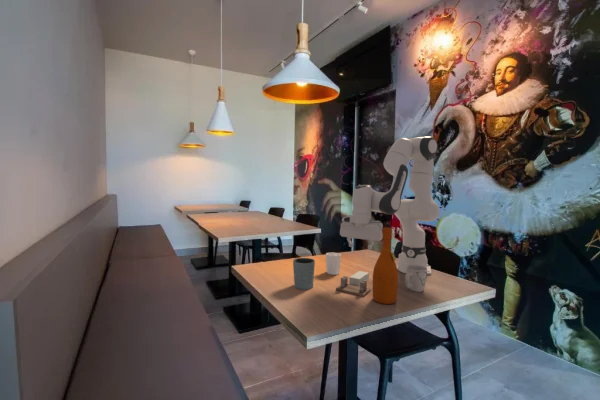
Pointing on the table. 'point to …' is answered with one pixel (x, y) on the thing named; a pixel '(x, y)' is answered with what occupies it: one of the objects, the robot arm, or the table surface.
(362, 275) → the white rectangular block
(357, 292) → the peg stand
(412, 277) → the mug
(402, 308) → the table surface
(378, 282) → the wine bottle
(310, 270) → the dark grey cup
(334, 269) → the white cup
